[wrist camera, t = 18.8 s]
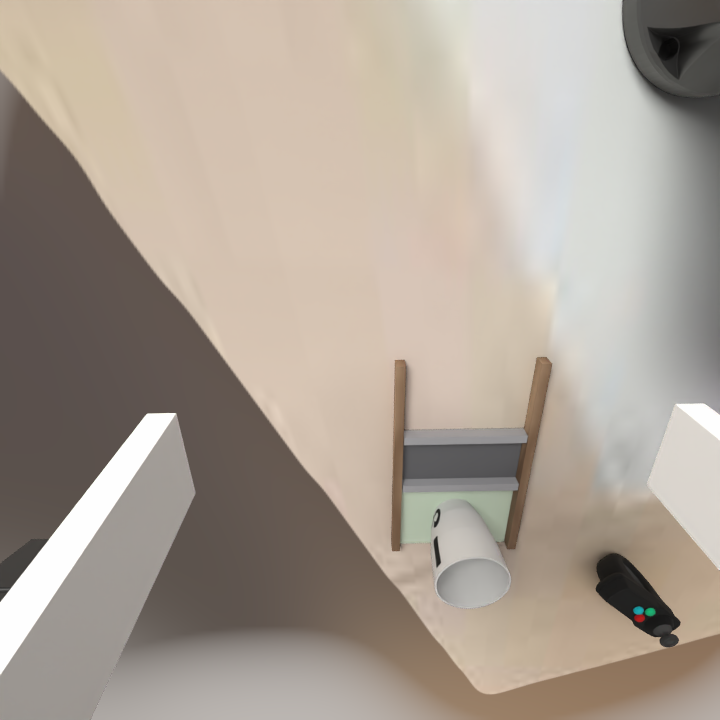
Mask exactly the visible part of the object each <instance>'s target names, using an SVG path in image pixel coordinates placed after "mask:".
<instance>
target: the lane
mask: <svg viewBox="0 0 720 720" xmlns="http://www.w3.org/2000/svg"><path fill="white" fill-rule="evenodd" d="M551 367H552V363H551V362H550V361H549V360H548V359H547V357H538V358H537V360H536V366H535V371H534V377H533V382H532V388H531V393H530V399H529V404H528V410H527V415H526V421H525V426H524V430H525V432H526V433H527V435H528V438H527V443H522V445H521V450H520V456H519V461H518V467H517V472H516V479H517V481H518V483H519V486H518V490H515V491H513V494H512V500H511V505H510V511H509V516H508V522H507V527H506V533H505V538H504V541H505V544H506V547H507V549H515V547H516V542H517V537H518V532H519V527H520V522H521V517H522V512H523V507H524V502H525V497H526V492H527V487H528V482H529V477H530V472H531V467H532V462H533V457H534V452H535V447H536V442H537V437H538V432H539V427H540V422H541V417H542V412H543V407H544V402H545V397H546V392H547V387H548V382H549V377H550V372H551ZM405 380H406V364H405V360H395V387H394V435H393V484H392V532H391V544H392V551H400V531H401V500H402V470H403V440H404V410H405Z"/></svg>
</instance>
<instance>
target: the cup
mask: <svg viewBox="0 0 720 720" xmlns="http://www.w3.org/2000/svg"><path fill="white" fill-rule="evenodd" d="M431 559H432V568H433V577H434V586H435V591H436V594H437V596H438V597H439V598H440V599H441V600H442V601H443V602H445V603H446V604H448V605H451V606H453V607H457V608H464V609H473V608H480V607H484V606H487V605H490V604H492V603H494V602H496V601H497V600H499V599H500V598H502V597H503V596H504V595H505V594H506V592H507V591H508V589H509V587H510V584H511V575H510V572H509V570H508V568H507V566H506V563H505V561H504V559H503V556H502V554H501V552H500V549H499V547H498V545H497V543H496V541H495V539H494V537H493V535H492V534H491V532H490V530H489V529H488V527H487V525H486V523H485V522H484V520H483V518H482V517H481V516H480V515H479V513H478V512H477V511H476V510H475V509H474V508H473V506H472V505H471V504H470V503H469V502H467V501H466V500H463V499H449V500H446V501H444V502H442V503H440V504H439V505H438V506H437V508H436V509H435V512H434V517H433V522H432V527H431Z"/></svg>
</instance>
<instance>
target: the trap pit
mask: <svg viewBox="0 0 720 720" xmlns="http://www.w3.org/2000/svg"><path fill="white" fill-rule="evenodd" d="M527 438H528V435H527V433H526V432H525V430H524V428H495V429H440V430H404V440H403V470H402V492H403V493H406V492H461V491H515V490H518V486H519V483H518V481H517V479H516V472H517V467H518V461H519V456H520V450H521V445H522V443H527Z"/></svg>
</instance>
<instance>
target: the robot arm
mask: <svg viewBox="0 0 720 720" xmlns="http://www.w3.org/2000/svg"><path fill="white" fill-rule="evenodd" d="M623 23H624V31H625V37H626V41H627V45H628V48H629V51H630V53H631V56H632V58H633V60H634V62H635V64H636V66H637V67H638V69H639V70H640V71H641V73H642V74H643V75H644V76H645V77H646V78H647V80H649V81H650V82H651V83H652V84H653V85H655V86H656V87H658V88H659V89H661V90H663V91H665V92H667V93H670V94H673V95H677V96H681V97H693V98H696V97H707V96H714V95H720V0H623ZM647 486H648V487H649V488H650V490H651V491H652V492H653V493H654V494H655V495H656V497H657V498H658V499H659V500H660V501H661V502H662V504H663V505H664V506H665V507H666V508H667V509H668V511H669V512H670V513H671V514H672V515H673V517H674V518H675V519H676V520H677V521H678V522H679V524H680V525H681V526H682V527H683V528H684V529H685V531H686V532H687V533H688V534H689V535H690V536H691V538H692V539H693V540H694V541H695V542H696V543H697V545H698V546H699V547H700V548H701V549H702V551H703V552H704V553H705V554H706V555H707V556H708V558H709V559H710V560H711V561H712V562H713V563H714V565H715V566H716V567H717V568H718V569H719V570H720V415H719V414H718V413H716V412H715V411H714V410H712V409H711V408H710V407H708V406H707V405H706V404H675V406H674V409H673V412H672V414H671V417H670V420H669V423H668V426H667V428H666V431H665V434H664V437H663V440H662V443H661V445H660V448H659V451H658V454H657V457H656V459H655V462H654V465H653V468H652V471H651V473H650V476H649V479H648V482H647ZM194 495H195V489H194V485H193V481H192V477H191V473H190V468H189V465H188V460H187V456H186V452H185V448H184V444H183V440H182V435H181V431H180V427H179V423H178V420H177V415H176V413H167V414H166V413H165V414H147V415H146V416H145V417H144V418H143V420H142V421H141V422H140V424H139V425H138V426H137V427H136V429H135V430H134V431H133V433H132V434H131V435H130V436H129V438H128V439H127V440H126V442H125V443H124V444H123V446H122V447H121V448H120V449H119V450H118V452H117V453H116V454H115V456H114V457H113V458H112V460H111V461H110V462H109V464H108V465H107V466H106V467H105V468H104V470H103V471H102V472H101V474H100V475H99V476H98V477H97V479H96V480H95V481H94V483H93V484H92V485H91V487H90V488H89V489H88V490H87V492H86V493H85V494H84V496H83V497H82V498H81V499H80V501H79V502H78V503H77V504H76V506H75V507H74V508H73V510H72V511H71V512H70V513H69V515H68V516H67V517H66V519H65V520H64V521H63V522H62V524H61V525H60V526H59V528H58V529H57V530H56V531H55V533H54V534H53V535H52V537H51V538H50V539H31V540H30V541H29V542H27V543H26V544H25V545H24V546H22V547H21V548H20V549H18V550H17V551H16V552H14V553H13V554H12V555H11V556H9V557H8V558H7V559H5V560H4V561H3V562H2V563H1V564H0V720H91V718H92V716H93V713H94V711H95V709H96V707H97V705H98V703H99V700H100V698H101V696H102V694H103V692H104V689H105V687H106V685H107V683H108V681H109V679H110V677H111V674H112V672H113V670H114V668H115V666H116V664H117V661H118V659H119V657H120V655H121V653H122V650H123V649H124V646H125V644H126V642H127V640H128V638H129V635H130V633H131V631H132V629H133V627H134V625H135V623H136V620H137V618H138V616H139V614H140V612H141V610H142V607H143V605H144V603H145V601H146V599H147V597H148V595H149V592H150V590H151V588H152V586H153V584H154V582H155V579H156V577H157V575H158V573H159V571H160V569H161V566H162V564H163V562H164V560H165V558H166V556H167V553H168V551H169V549H170V547H171V545H172V543H173V540H174V538H175V536H176V534H177V532H178V530H179V528H180V525H181V523H182V521H183V519H184V517H185V514H186V512H187V510H188V508H189V506H190V504H191V502H192V499H193V497H194Z"/></svg>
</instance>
